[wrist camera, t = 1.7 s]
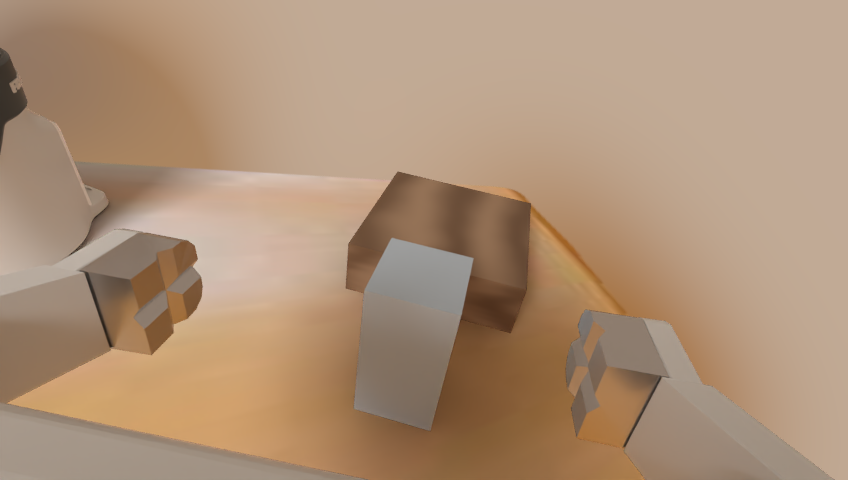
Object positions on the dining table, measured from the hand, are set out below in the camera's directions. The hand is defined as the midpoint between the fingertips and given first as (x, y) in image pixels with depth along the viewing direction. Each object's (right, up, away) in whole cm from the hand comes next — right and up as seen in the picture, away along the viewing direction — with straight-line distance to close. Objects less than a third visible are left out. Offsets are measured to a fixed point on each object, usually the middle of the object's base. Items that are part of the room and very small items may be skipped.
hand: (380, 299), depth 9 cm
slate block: (-1, -9, +20) cm, 22 cm away
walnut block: (+3, -1, +33) cm, 33 cm away
